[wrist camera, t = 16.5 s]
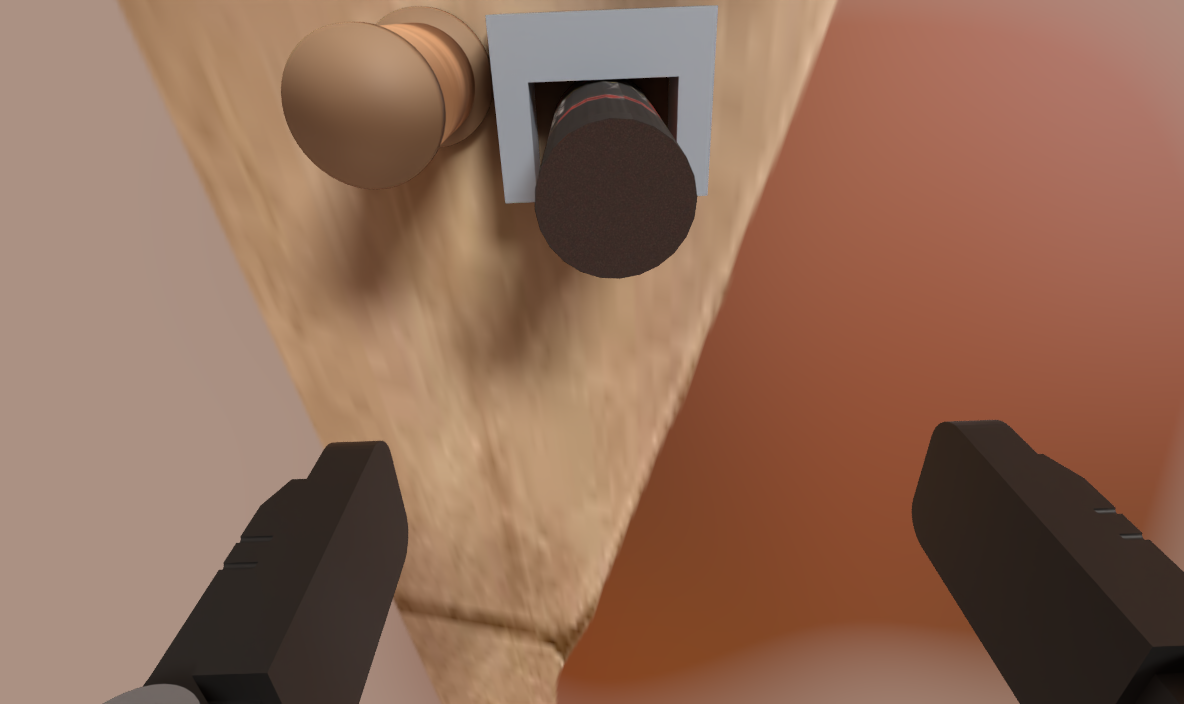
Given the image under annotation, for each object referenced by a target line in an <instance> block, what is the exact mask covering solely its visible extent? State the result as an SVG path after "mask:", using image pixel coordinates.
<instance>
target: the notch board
mask: <svg viewBox="0 0 1184 704" xmlns="http://www.w3.org/2000/svg"><path fill="white" fill-rule="evenodd" d="M717 15H718V6H683V7H659V8H634V9H610V10H586V11H562V12H538V13H514V14H493V15H485V16H486V26H487V35H488V44H489V54H490V63H491V73H492V82H493V91H494V101H495V110H496V119H497V129H498V138H499V148H500V157H501V166H502V176H503V185H504V195H505V203H528V202H535V187H536V183H537V179H538V175H539V172H540V168H541V166H540V153H539V140H538V127H537V113H536V100H535V87H534V82H553V81H578V80H602V79H627V78H651V77H669V92H668V130H669V131H670V133H671V134H672V136H673V137H674V139H675V140H676V142H677V143H678V145H679V146H680V148H681V149H682V151H683V152H684V154H685V155H686V157H687V159H688V162H689V164H690V166H691V169H692V171H693V173H694V176H695V183H696V191H697V196H706V195H707V193H708V175H709V157H710V140H711V122H712V104H713V86H714V68H715V51H716V33H717Z"/></svg>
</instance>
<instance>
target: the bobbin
mask: <svg viewBox="0 0 1184 704" xmlns="http://www.w3.org/2000/svg"><path fill="white" fill-rule="evenodd" d="M492 95H493V82H492V73H491V64H490V60H489V57H488V55H487V53H486V50H485V48H484V47H483V45H482V43H481V41H480V40H479V38H478V37H477V36H476V34H475V33H474V32H473V31H472V30H471V29H470V28H469V27H468V26H467V25H466V24H465V23H464V22H462V21H461V20H460V19H458V18H457V17H455V16H454V15H452V14H450V13H448V12H446V11H443V10H440V9H437V8H431V7H407V8H402V9H399V10H396V11H394V12H392V13H390V14H388V15H387V16H385V17H384V18H382V19H381V20H380V21H379V22H378V23H377V24H376V25H375V24H370V23H365V22H344V23H335V24H330V25H327V26H323V27H321V28H319V29H317V30H315V31H313V32H311V33H310V34H308V35H307V36H306V37H304V38H303V39H302V40H301V41H300V42H299V43H298V44H297V46H296V47H295V48H294V50H293V51H292V52H291V54H290V56H289V58H288V60H287V63H286V65H285V68H284V72H283V77H282V84H281V97H282V106H283V111H284V115H285V118H286V121H287V124H288V127H289V129H290V131H291V133H292V135H293V137H294V139H295V140H296V142H297V144H298V145H299V147H300V148H301V149H302V151H303V152H304V153H305V155H306V156H307V157H308V158H309V159H310V160H311V161H312V162H313V163H314V164H315V165H316V166H318V167H319V168H320V169H321V170H322V171H324V172H325V173H327V174H328V175H330V176H331V177H333V178H335V179H337V180H339V181H341V182H343V183H346V184H348V185H352V186H355V187H359V188H365V189H385V188H391V187H395V186H398V185H400V184H403V183H405V182H407V181H409V180H410V179H412V178H413V177H415V176H416V175H417V174H418V173H420V172H421V171H422V170H423V169H424V168H425V167H426V166H427V164H428V163H429V162H430V161H431V160H432V159H433V157H434V156H435V154H436V153H437V151H438V149H439V147H446V146H450V145H453V144H456V143H458V142H460V141H462V140H463V139H465V138H467V137H468V136H469V135H470V134H472V133H473V132H474V130H475V129H476V128H477V127H478V126H479V125H480V124H481V122H482V121H483V119H484V118H485V116H486V114H487V112H488V110H489V107H490V104H491V100H492Z"/></svg>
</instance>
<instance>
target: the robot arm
mask: <svg viewBox="0 0 1184 704" xmlns="http://www.w3.org/2000/svg"><path fill="white" fill-rule="evenodd" d="M912 520H913V526H914V529H915V533H916V536H917V538H918V541H919V543H920V545H921V547H922V548H923V550H924V551H925V553H926V555H927V556H928V558H929V559H930V561H931V562H932V564H933V566H934V567H935V569H936V571H937V572H938V574H939V575H940V577H941V578H942V580H943V582H944V583H945V585H946V586H947V588H948V590H949V591H950V593H951V594H952V596H953V598H954V599H955V601H956V602H957V604H958V606H959V607H960V609H961V610H962V612H963V614H964V615H965V617H966V618H967V620H968V622H969V623H970V625H971V626H972V628H973V630H974V631H975V633H976V634H977V636H978V637H979V639H980V641H981V642H982V644H983V646H984V647H985V649H986V650H987V652H988V653H989V655H990V657H991V658H992V660H993V662H994V663H995V665H996V666H997V668H998V670H999V671H1000V673H1001V674H1002V676H1003V678H1004V679H1005V681H1006V682H1007V684H1008V685H1009V687H1010V689H1011V690H1012V692H1013V694H1014V695H1015V697H1016V698H1017V700H1018V701H1019V703H1020V704H1184V572H1183V571H1182V570H1181V569H1180V568H1179V567H1178V566H1177V565H1176V564H1175V563H1174V562H1173V561H1171V560H1170V559H1169V558H1168V557H1167V556H1166V555H1165V554H1164V553H1163V552H1162V551H1161V550H1160V549H1159V548H1158V547H1157V546H1156V545H1154V544H1153V543H1152V542H1151V541H1150V540H1144V539H1143V537H1142V532H1141V531H1140V530H1138V529H1137V528H1136V527H1135V526H1134V525H1133V524H1132V523H1131V522H1130V521H1129V520H1128V519H1127V518H1126V517H1125V516H1124V515H1123V514H1117V513H1116V511H1115V507H1114V506H1113V505H1112V504H1111V503H1110V502H1109V501H1108V500H1107V499H1106V498H1105V497H1103V496H1102V495H1101V494H1100V493H1099V492H1098V491H1097V490H1096V489H1095V488H1094V487H1093V486H1092V485H1091V484H1090V483H1088V482H1087V481H1086V480H1085V479H1084V478H1083V477H1081V476H1079V475H1078V474H1076V473H1074V472H1073V471H1071V470H1069V469H1068V468H1066V467H1064V466H1062V465H1061V464H1059V463H1057V462H1056V461H1054V460H1052V459H1050V458H1049V457H1047V456H1045V455H1044V454H1037V453H1036V452H1035V451H1034V450H1033V449H1032V448H1031V447H1030V446H1029V445H1028V444H1027V443H1026V442H1025V441H1024V440H1023V439H1022V438H1021V437H1020V436H1019V435H1018V434H1017V433H1016V432H1015V431H1014V430H1013V429H1012V428H1011V427H1010V426H1008V425H1007V424H1006V423H1004V422H1002V421H999V420H980V421H954V422H943V423H940V424H939V425H938V426H937V427H936V428H935V430H934V432H933V434H932V437H931V440H930V444H929V447H928V451H927V454H926V457H925V461H924V465H923V468H922V471H921V475H920V478H919V481H918V485H917V488H916V492H915V495H914V498H913V503H912ZM407 546H408V522H407V516H406V512H405V508H404V504H403V500H402V496H401V492H400V488H399V484H398V480H397V476H396V472H395V468H394V464H393V460H392V456H391V452H390V449H389V447H388V445H387V444H386V443H385V442H384V441H363V442H336V443H330V444H328V445H327V446H326V448H325V449H324V450H323V452H322V454H321V455H320V457H319V459H318V461H317V462H316V464H315V466H314V468H313V469H312V471H311V473H310V474H309V476H308V478H307V479H292V480H291V481H289V482H288V483H287V484H286V485H285V486H284V487H282V488H281V489H280V490H279V491H278V492H276V493H275V494H274V495H273V496H272V497H270V498H269V499H268V500H267V501H266V502H264V503H263V504H262V505H261V506H260V507H259V509H258V510H257V512H256V514H255V515H254V517H253V518H252V520H251V521H250V523H249V524H248V526H247V527H246V529H245V531H244V532H243V534H242V535H241V541H240V543H236V545H235V546H234V548H233V549H232V551H231V552H230V554H229V555H228V557H227V558H226V560H225V561H224V568H223V570H219V571H218V572H217V574H216V575H215V577H214V579H213V580H212V582H211V583H210V585H209V586H208V588H207V589H206V591H205V592H204V594H203V595H202V597H201V599H200V600H199V602H198V603H197V605H196V606H195V608H194V609H193V611H192V613H191V614H190V616H189V617H188V619H187V620H186V622H185V623H184V625H183V626H182V628H181V629H180V631H179V633H178V634H177V636H176V637H175V639H174V640H173V642H172V643H171V645H170V646H169V648H168V650H167V651H166V653H165V654H164V656H163V657H162V659H161V660H160V662H159V664H158V665H157V667H156V668H155V670H154V671H153V673H152V674H151V676H150V677H149V679H148V680H147V681H146V683H145V684H144V686H143V687H140V688H137V689H134V690H131V691H128V692H126V693H123V694H121V695H119V696H117V697H114V698H112V699H110V700H109V701H107V702H105V703H103V704H359V701H360V698H361V695H362V692H363V689H364V686H365V683H366V680H367V676H368V673H369V670H370V667H371V664H372V661H373V658H374V655H375V652H376V649H377V646H378V642H379V639H380V636H381V633H382V630H383V627H384V624H385V621H386V618H387V614H388V611H389V608H390V605H391V602H392V599H393V596H394V593H395V590H396V587H397V584H398V580H399V577H400V574H401V571H402V568H403V565H404V562H405V558H406V553H407Z"/></svg>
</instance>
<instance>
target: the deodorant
mask: <svg viewBox="0 0 1184 704" xmlns="http://www.w3.org/2000/svg"><path fill="white" fill-rule="evenodd" d="M696 203H697V191H696V183H695V176H694V173H693V171H692V169H691V166H690V164H689V162H688V159H687V157H686V155H685V154H684V152H683V151H682V149H681V148H680V146H679V145H678V143H677V142H676V140H675V139H674V137H673V136H672V134H671V133H670V131H669V130H668V128H667V127H666V125H665V124H664V122H663V121H662V119H661V118H660V116H659V115H658V113H657V112H656V110H655V109H654V107H653V106H652V104H651V103H650V101H649V100H648V98H647V97H646V96H645V95H644V93H643V92H642V91H641V90H640V88H639V87H637V86H636V85H635V84H633V83H632V82H631V81H629V80H628V79H602V80H580V81H578V82H576V83H574V84H573V85H572V86H571V87H570V88H569V89H568V90H567V91H566V92H565V93H564V94H563V96H562V98H561V99H560V101H559V103H558V104H557V106H556V110H555V114H554V117H553V121H552V125H551V129H550V133H549V136H548V140H547V144H546V148H545V152H544V156H543V160H542V164H541V168H540V172H539V175H538V179H537V183H536V187H535V212H536V216H537V220H538V223H539V227H540V230H541V232H542V234H543V236H544V237H545V239H546V241H547V243H548V244H549V246H550V248H551V249H552V250H553V251H554V252H555V253H556V254H557V255H558V256H559V257H560V258H561V259H562V260H563V261H564V262H566V263H567V264H569V265H571V266H572V267H574V268H576V269H577V270H579V271H581V272H583V273H587V274H590V275H593V276H597V277H600V278H625V277H630V276H635V275H640V274H642V273H644V272H646V271H649V270H651V269H653V268H655V267H657V266H659V265H660V264H661V263H662V262H664V261H665V260H666V259H667V258H669V257H670V256H671V255H672V254H674V253H675V251H676V250H677V249H678V247H679V246H680V245H681V243H682V242H683V241H684V239H685V238H686V237H687V234H688V232H689V229H690V227H691V225H692V222H693V220H694V217H695V210H696Z"/></svg>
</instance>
